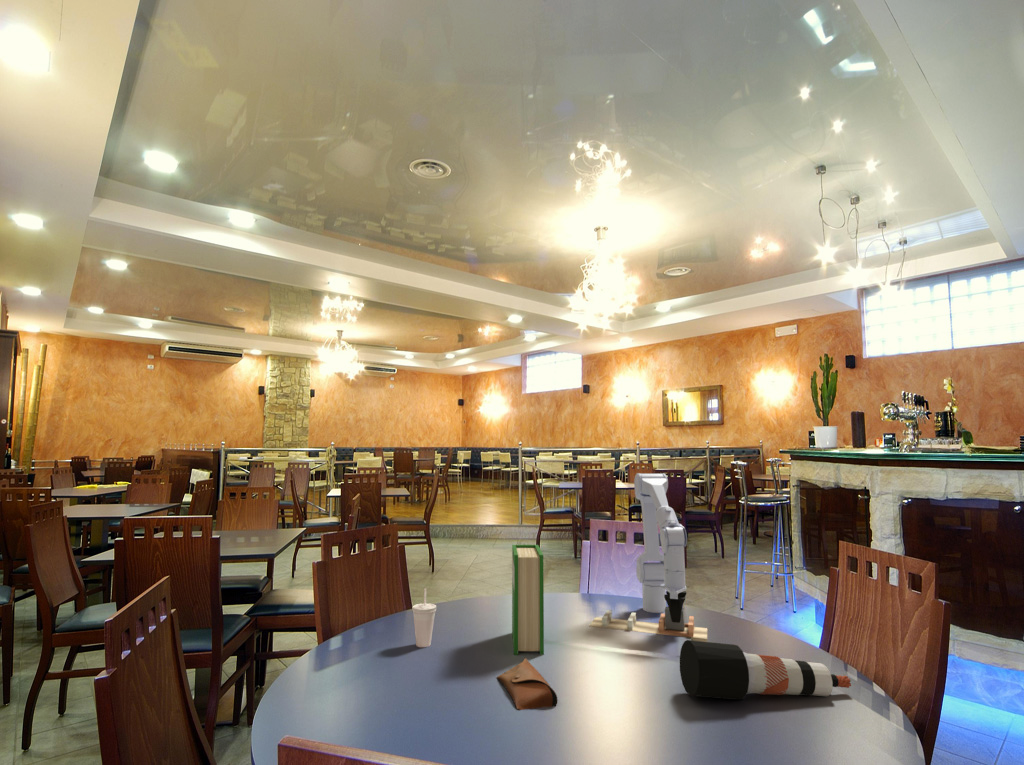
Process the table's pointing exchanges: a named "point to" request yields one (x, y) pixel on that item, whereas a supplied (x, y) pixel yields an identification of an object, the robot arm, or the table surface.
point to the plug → (674, 625)
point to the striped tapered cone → (750, 673)
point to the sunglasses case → (528, 687)
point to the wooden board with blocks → (650, 626)
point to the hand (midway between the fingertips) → (676, 620)
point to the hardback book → (527, 599)
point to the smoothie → (423, 622)
